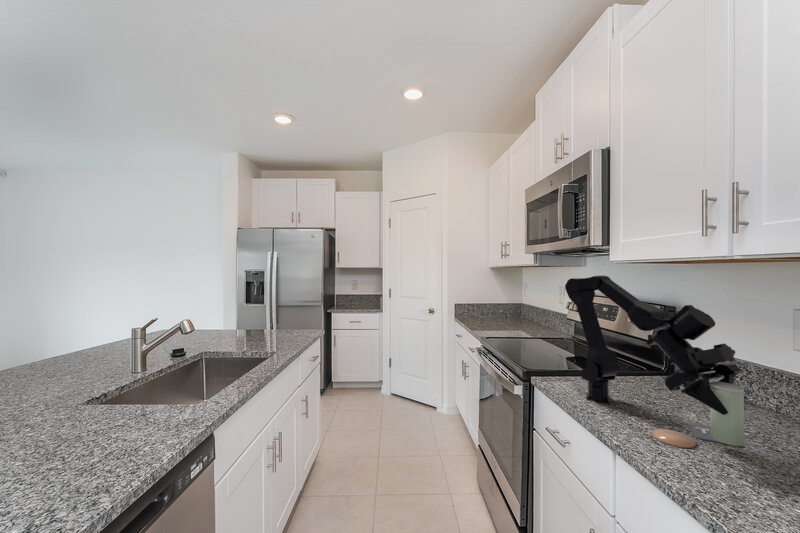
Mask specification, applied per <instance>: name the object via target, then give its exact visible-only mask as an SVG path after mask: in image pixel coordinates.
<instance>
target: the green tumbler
mask: <svg viewBox="0 0 800 533" xmlns="http://www.w3.org/2000/svg"><path fill="white" fill-rule="evenodd" d="M710 388H711V390H712V391H713V392H714V394H715V395H716V396H717V398H718V399H719V400H720V402H721V403H722V404H723V405H724V407H725V408H726V410H727V411H728V413H727V414H725V415H723V414H721V413H719V412H717V411H716V410H714V409H712V408H711V407H710V426H711V437H712V438H713V439H715V440H717V441H719V442H722V443H725V444H724V445H727V444H729V445H728V446H732V445H735V446H734V447H737V446H742V447H743V446H744V445H745V410H744V408H745V400H744V399H745V398H744V396H745V395H744V394H745V388H744V387H743V386H741V385H738V384H734V383H733V384H730V383H724V382H710ZM722 443H721V444H722Z"/></svg>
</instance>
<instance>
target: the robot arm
mask: <svg viewBox="0 0 800 533" xmlns="http://www.w3.org/2000/svg"><path fill="white" fill-rule="evenodd" d="M564 288H565V292H566V293H567V296H568V298H569V300H570V301H571V302H572V303H573V304H574V305H575V306H576V309H577V313H578V316H579V319H580V322H581V326H582V329H583V332H584V337H585V340H586V342H587V347H588V350H587V355H586V364H587V365H586V366H585V367H584V368H583V369H581V370H580V372H579V373H580V376H581V379H582V380H585V381H587V393H586V397H585V400H587V401H593V402H599V403H603V404H611V399H612V398H611V395H610V391H609V390H610V388H609V387H610V385H609V384H610V383H609V381H614V380H615V379H616V376H617V375H618V373H619V372H620V365H621V362H620V361H619V359H618V354H617V352H616V351H614V350H613V351H612V350H610V349H609V348H608V347H607V344H606V340H605V338H604V335H603V332H602V328H601V325H600V322H599V319H598V316H597V312H596V308H595V306H594V300H595V296H596V292H595V291H599V292H600V293H601V294H603V295H604V296H605V297H606V298H608V299H609V300H610V301H612V302H613V303H614V304H615V305H617V306H618V307H619V308H621V310H623V311H624V312H625V313H626V314H627V317H628V319H629V321H630V322H631V323H632V324H633V325H634V326H635V327H636V328H637V329H638V330H640V331H643V332H652V331H657V332H655V333H653V334H648V335H647V341H646V345H647V346H655V345H657V346H658V347H659V348H660V350H662V351H663V353H664V354H665V355H666V356H667V358H668V360H667V361H666V362H667V363H668V364H669V365H675V366H676V367H677V370H676V371H674V372H672V373H671V374H670V375H669V374H668V376H667V377H665V378H664V386H665V387H666V388H667V389H668V390H669V392H676V391H680V393H682V394H685V395H687V396H689V397H691V398H694V399H695V400H696V401H699V402H700V403H702V404H704V405H706V406H707V407H709V408H710V409H711V408H712V409H714V410H716V411H717V412H719V413H721V414H723V415H725V414H727V413H728V411H727V410H726V408H725V407H724V405H723V404H722V403H721V402H720V400H719V399H718V398H717V396H716V395H715V394H714V392H713V391H712V390H711V388H710V382H724V383H730V384H734V382H735V378H737V376H738V375H739V374H741V373H743V370H742V369H741V368H740V367H739V366H738V365H737V364H736V363H731V362H734V361H736V359H735V357H734V356H735V354H736V350H734V349H733V348H732V347H731V346H729V345H727V344H726V343H719V344H714V345H713V348H709V349H705V350H703V348H700V347H698V346H696V347H694V346H692V345H691V344H690V343H689V341H690V340H691V341H695V340H697V339H698V338H700V337H701V336H702V335H704V334H706V333H707V332H708V331H709V330H711V329H712V328H714V327H715V325H716V321H715V319H713V317H712V316H711V315H710V314H708V313H706V312H704V311H703V310H701V309H699V308H695V306H693V305H692V304H686V305H684V306H683V307H682V308H681V309H680V310H679V311H678V312H677V313H676V314H674V315H673V314H668V313H667V312H666V311H665V310H664V309H661V308H659V307H657V306H656V305H654V304H650V303H647V302H644V301H642V300H640V299H638V298H637V297H636V296H634V295H633V294H631V293H630V292H628V291H627V290H626V289H625V288H623V287H622V286H620V285H619V284H617V283H616V282H614V281H613V280H612V279H611V278H610V277H609V276H607V275H593V276H590V277H584V278H583V277H580V278H579V277H578V278H577V277H573V278H569V279H568V280H567V282H566V283H565V285H564ZM688 340H689V341H688ZM681 386H682V387H683V389H682V390H681ZM745 410H746V408H745V407H744V411H745Z"/></svg>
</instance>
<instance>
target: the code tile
mask: <svg viewBox="0 0 800 533" xmlns="http://www.w3.org/2000/svg"><path fill="white" fill-rule="evenodd" d="M688 425H689V427H690V429H691V431H692V433H693V435H694V438H695V439H697V440H702V441H703V440H704V441H707V442H713V443H717V444H722V445H726V446H727V445H728V446H730V445H729V444H725V443H722V442H719V441H717V440H715V439H713V438H712V437H711V424H710V425H709V424H703V423H698V422H694V421H693V422H692V421H688ZM731 446H733V447H737V448H743V446H735V445H731Z"/></svg>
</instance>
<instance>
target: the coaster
mask: <svg viewBox="0 0 800 533" xmlns="http://www.w3.org/2000/svg"><path fill="white" fill-rule="evenodd" d="M652 436H653V438H654V439H656V440H657V441H659V442H661V443H663V444H665V445H668V446H672V447H676V448H682V449H690V448H691V449H692V448H695V447H696V446H697V445H696V444H697V442H696V440H695V439H694V437H691V436H690V435H687V434H685V433H683V432H680V431H676V430H672V429H666V428H665V429H664V428H657V429H653V431H652Z"/></svg>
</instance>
